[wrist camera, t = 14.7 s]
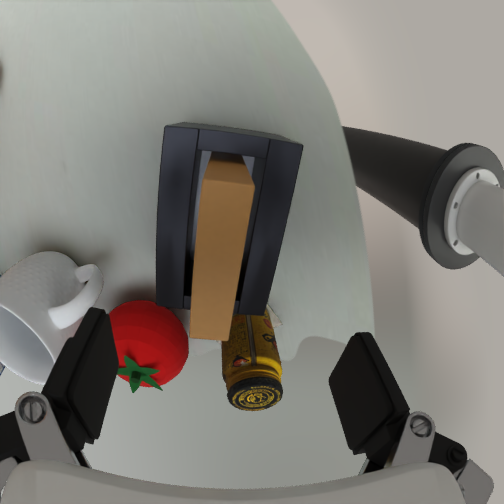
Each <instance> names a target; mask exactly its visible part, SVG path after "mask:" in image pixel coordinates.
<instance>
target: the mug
mask: <svg viewBox="0 0 504 504" xmlns="http://www.w3.org/2000/svg"><path fill="white" fill-rule="evenodd" d="M88 280H89V281H88ZM85 281H88V283H87V284H86V286H85V283H84V282H85ZM103 282H104V281H103V276H102V273H101V271H100V270H99V268H98V267H97V266H96V265H93V264H88V265H84V266H81V267H78V266H77V265H76V263H75V262H74V261H73V260H72V259H71V258H69V257H68V256H66V255H64V254H62V253H59V252H54V251H47V252H44V251H43V252H41V253H36V254H32V255H31V256H29V257H26V258H25V259H23V260H21V261H19V262H18V263H17V264H15V265H14V266H12V267H11V268H10V269H9V270H7V271H6V272H5V274H3V275H2V276H1V277H0V362H1V363H2V364H3V365H5V366H6V367H7V368H8V369H10V370H11V371H12V372H14V373H15V374H17V375H18V376H20V377H22V378H24V379H26V380H28V381H31V382H33V383H37V384H44V385H45V383H46V381H47V379H48V376H49V374H50V372H51V370H52V368H53V366H54V364H55V362H56V360H57V358H58V356H59V354H60V352H61V350H62V348H63V346H64V344H65V342H66V341H67V339H68V338H69V337H73V336H74V334H75V333H76V331H77V329H78V327H79V325H80V323H81V321H82V319H83V315H84V314H85V313H86V312H87V311H88V309H89V308H90V307H92V306H93V304H94V303H95V302H96V300H97V298H98V297H99V295H100V293H101V291H102V288H103Z"/></svg>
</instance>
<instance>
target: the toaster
mask: <svg viewBox="0 0 504 504" xmlns="http://www.w3.org/2000/svg"><path fill="white" fill-rule="evenodd" d="M302 151H303V145H302V144H300V143H297V142H295V141H292V140H290V139H288V138H285V137H283V136H280V135H275V134H270V133H264V132H258V131H252V130H246V129H239V128H232V127H225V126H217V125H208V124H198V123H188V122H182V123H177V124H172V125H166V126H165V127H164V136H163V144H162V154H161V164H160V176H159V190H158V206H157V229H156V305H157V306H161V307H169V308H178V309H187V310H191V295H192V280H193V266H194V254H195V243H196V232H197V222H198V212H199V203H200V194H201V186H202V179H203V176H204V173H205V170H206V167H207V164H208V161H209V158H210V155H211V153H212V152H221V153H228V154H236V155H242V157H243V159H244V162H245V164H246V166H247V169H248V171H249V174H250V176H251V178H252V181H253V183H254V185H255V190H254V196H253V201H252V207H251V212H250V218H249V223H248V229H247V235H246V240H245V246H244V252H243V257H242V263H241V269H240V275H239V280H238V286H237V292H236V298H235V304H234V309H233V314H237V313H238V314H241V315H255V316H264V314H265V310H266V306H267V302H268V298H269V294H270V290H271V286H272V282H273V278H274V274H275V270H276V266H277V261H278V257H279V253H280V249H281V245H282V240H283V236H284V232H285V228H286V223H287V219H288V214H289V210H290V206H291V201H292V197H293V192H294V188H295V183H296V179H297V174H298V169H299V165H300V160H301V155H302Z"/></svg>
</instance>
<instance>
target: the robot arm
mask: <svg viewBox="0 0 504 504" xmlns="http://www.w3.org/2000/svg"><path fill="white" fill-rule="evenodd" d="M444 232H445V237H446V240H447V243H448V244H449V246H450V247H451V248H452V249H453V250H454V251H455V252H457V253H459V254H462V255H469V254H472V253H476V254H477V255H478V256H480V257H481V258H482V259H483V260H485V261H486V262H487V263H488V264H489V265H491V266H492V267H493V268H494V269H495V270H497V271H498V272H499V273H500V274H501V275H502V276H504V189H502V188H500V185H499V182H498V180H497V178H496V176H495V175H494V174H493V173H492V172H491V171H489V170H487V169H485V168H481V167H477V168H473V169H470V170H468V171H467V172H466V173H465V174H463V176H462V177H461V178H460V179H459V180H458V182H457V183H456V185H455V186H454V188H453V190H452V192H451V194H450V197H449V200H448V202H447V206H446V211H445V217H444ZM118 368H119V359H118V355H117V350H116V346H115V341H114V336H113V331H112V326H111V320H110V315H109V314H106V312H105V310H104V309H98V308H93V307H90V308H89V309H88V311H87V312H86V314H85V316H84V318H83V320H82V321H81V323H80V325H79V327H78V329H77V331H76V333H75V334H74V336H73V337H69V338H68V339H67V341H66V342H65V344H64V346H63V348H62V350H61V352H60V354H59V356H58V358H57V360H56V362H55V364H54V366H53V368H52V370H51V372H50V374H49V376H48V379H47V381H46V383H45V385H44V387H43V390H42V392H41V394H40V393H38V392H27V393H25V394H23V395H22V396H21V397H19V398H18V400H17V402H16V405H15V411H13V412H10V413H8V414H5V415H3V416H0V504H486V503H487V501H488V499H489V497H490V495H491V493H492V491H493V488H494V483H493V480H492V478H491V477H490V476H489V475H488V474H487V473H485V472H484V471H483V470H482V469H481V468H480V467H479V466H478V465H476V464H475V463H474V462H473V461H472V460H471V459H469V460H467V452H466V450H465V448H464V447H463V446H462V445H461V444H459V443H457V442H455V441H453V440H451V439H449V438H447V437H445V436H443V435H441V434H439V433H437V432H435V424H434V422H433V420H432V418H431V417H430V416H429V415H427V414H426V413H423V412H413V413H411V414H410V413H409V410H410V408H409V406H408V404H407V402H406V400H405V398H404V396H403V394H402V392H401V390H400V388H399V386H398V384H397V382H396V380H395V378H394V376H393V374H392V372H391V370H390V368H389V366H388V364H387V362H386V360H385V358H384V356H383V354H382V353H381V351H380V349H379V347H378V345H377V343H376V341H375V339H374V338H373V336H372V334H371V333H369V332H357V333H355V335H354V336H352V337H351V338H350V340H349V342H348V344H347V346H346V348H345V350H344V352H343V353H342V355H341V357H340V359H339V361H338V363H337V364H336V366H335V368H334V370H333V371H332V373H331V375H330V377H329V386H330V389H331V392H332V395H333V398H334V402H335V405H336V408H337V411H338V414H339V418H340V421H341V424H342V427H343V431H344V434H345V437H346V441H347V444H348V447H349V449H351V450H352V451H353V454H354V455H357V454H362V453H366V456H367V458H366V460H365V462H364V464H363V466H362V468H361V470H360V472H359V474H358V475H357V476H353V477H348V478H343V479H338V480H333V481H328V482H321V483H314V484H308V485H299V486H290V487H278V488H264V489H263V488H262V489H215V488H198V487H187V486H177V485H169V484H162V483H155V482H149V481H144V480H139V479H133V478H128V477H123V476H118V475H115V474H110V473H107V472H103V471H99V470H95V469H92V467H91V466H90V464H89V462H88V460H87V459H86V457H85V455H84V453H83V451H82V449H83V448H84V444H85V442H86V443H89V444H94V440H95V439H98V438H99V436H100V432H101V428H102V424H103V420H104V417H105V413H106V409H107V406H108V402H109V398H110V395H111V392H112V388H113V385H114V381H115V378H116V375H117V372H118ZM6 481H7V482H6ZM4 486H5V487H4ZM3 487H4V491H3V494H2V498H1V490H2V489H3Z"/></svg>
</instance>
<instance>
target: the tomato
mask: <svg viewBox="0 0 504 504" xmlns="http://www.w3.org/2000/svg"><path fill="white" fill-rule="evenodd" d="M109 315H110V320H111V326H112V331H113V336H114V341H115V346H116V350H117V355H118V359H119V368H118V372H117V375H118V376H119V377H121V378H122V379H124V380H126V381H128V382H129V383H130V387H131V390H132V393H134V392H135V391H136V390H137V389H138V388H139V386H143V387H155V388H158V389H160V390H162V389H161V387H160V385H163V384H166V383H167V382H169V381H170V380H172V379H173V378H174V377H175V376H177V375H178V374H179V373H180V371H181V370H182V368H183V366H184V364H185V362H186V360H187V358H188V354H189V347H188V336H187V333H186V331H185V329H184V327H183V324H182V323H181V321H180V320H179V319H178V318H177V317H176V316H175V315H174V313H173V312H171V311H170V310H169V309H167V308H165V307H161V306H157V305H156V303H154V302H152V301H145V300H135V301H130V302H125V303H123V304H121V305H120V306H118V307H116V308H115V309H113V310H112V311H111V312H110V313H109Z"/></svg>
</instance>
